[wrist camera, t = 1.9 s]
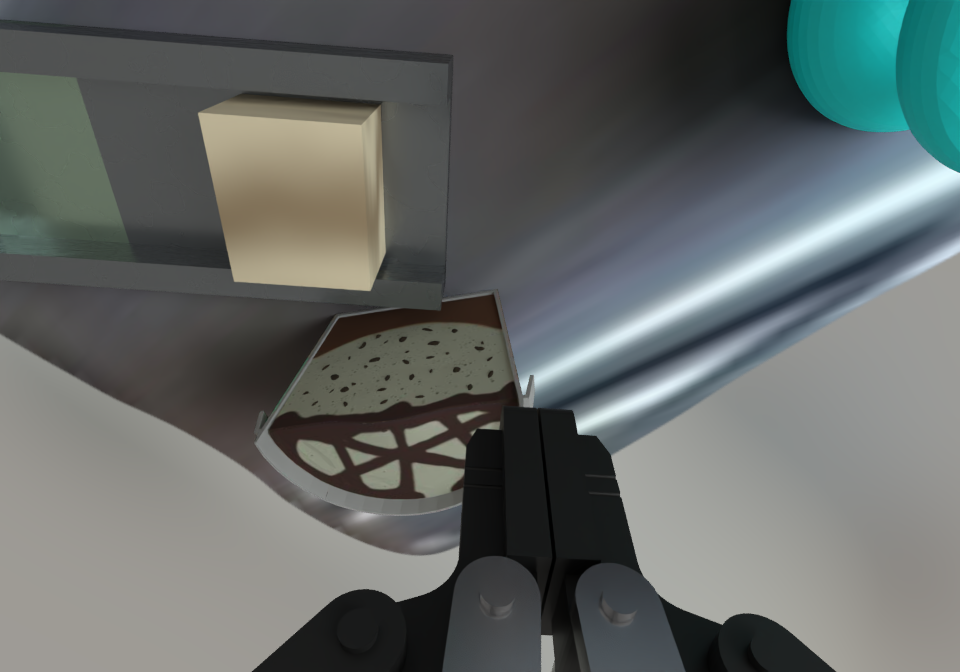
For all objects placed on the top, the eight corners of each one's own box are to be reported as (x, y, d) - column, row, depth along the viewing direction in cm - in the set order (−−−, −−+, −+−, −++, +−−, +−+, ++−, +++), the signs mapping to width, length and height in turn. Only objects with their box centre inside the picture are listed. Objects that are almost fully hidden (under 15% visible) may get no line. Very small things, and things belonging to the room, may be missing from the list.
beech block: (240, 93, 23) (197, 112, 19) (380, 104, 23) (361, 125, 20) (266, 244, 27) (234, 281, 23) (385, 252, 27) (370, 290, 23)
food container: (345, 399, 34) (296, 535, 25) (310, 317, 30) (241, 444, 22) (538, 373, 32) (554, 509, 24) (524, 284, 29) (537, 407, 21)
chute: (-117, 10, 22) (-225, 15, 19) (453, 55, 23) (446, 67, 19) (-3, 250, 28) (-69, 286, 25) (445, 282, 29) (439, 321, 26)
